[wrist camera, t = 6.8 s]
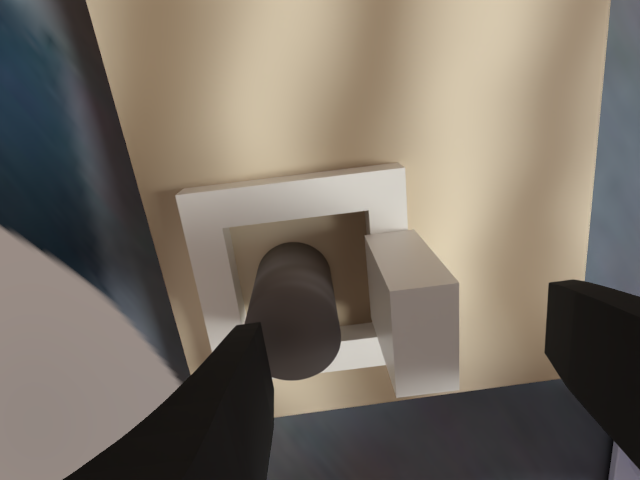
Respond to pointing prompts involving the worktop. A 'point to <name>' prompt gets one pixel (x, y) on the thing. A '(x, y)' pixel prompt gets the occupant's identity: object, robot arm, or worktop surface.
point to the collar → (381, 256)
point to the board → (368, 161)
